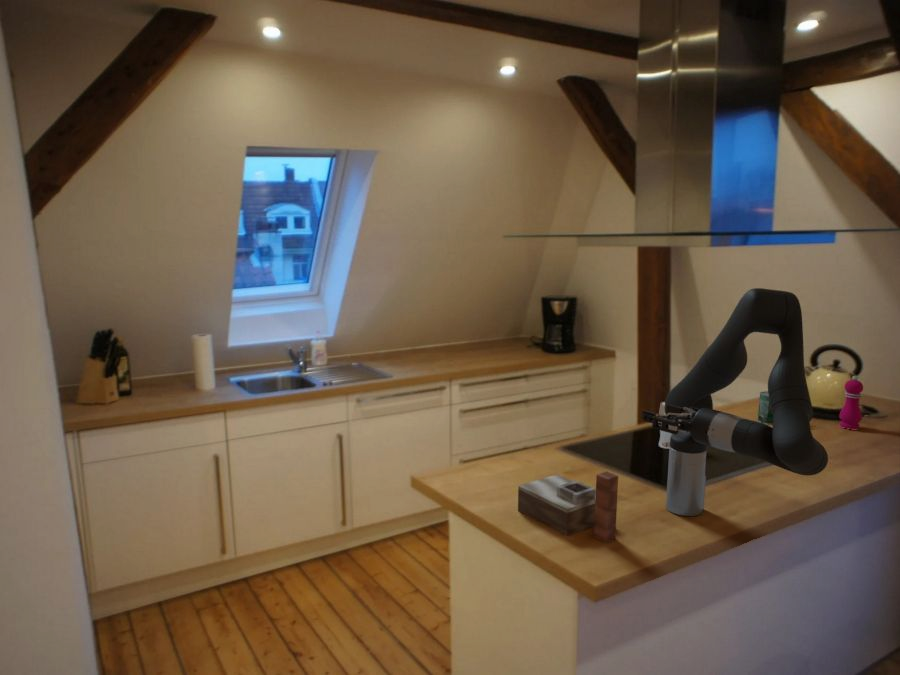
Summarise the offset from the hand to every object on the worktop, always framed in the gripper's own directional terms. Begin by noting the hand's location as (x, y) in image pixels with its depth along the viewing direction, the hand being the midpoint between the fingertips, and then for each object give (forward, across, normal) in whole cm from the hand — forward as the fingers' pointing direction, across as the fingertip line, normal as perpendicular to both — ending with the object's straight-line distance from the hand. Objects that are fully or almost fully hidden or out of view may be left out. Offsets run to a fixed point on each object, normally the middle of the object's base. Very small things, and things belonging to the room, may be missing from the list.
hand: (655, 412), depth 151 cm
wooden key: (+11, +2, +34) cm, 36 cm away
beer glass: (+45, -68, +34) cm, 88 cm away
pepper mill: (+19, -142, +34) cm, 147 cm away
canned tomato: (+41, -125, +34) cm, 136 cm away
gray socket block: (+26, +2, +34) cm, 43 cm away
